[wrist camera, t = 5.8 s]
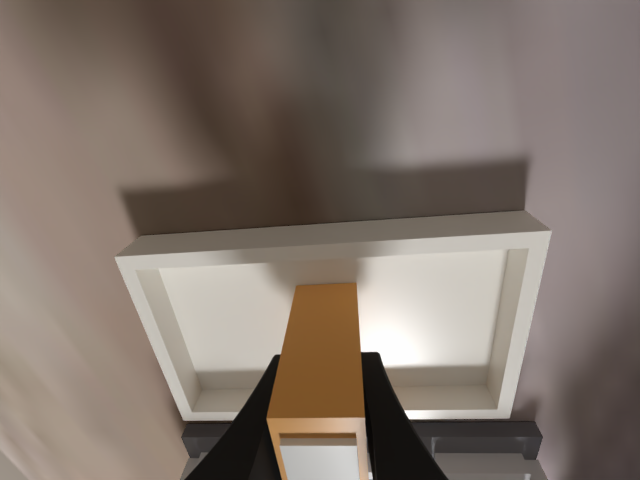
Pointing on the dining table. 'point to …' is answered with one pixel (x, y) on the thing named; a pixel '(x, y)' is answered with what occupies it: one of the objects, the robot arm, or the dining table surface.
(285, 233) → the tray
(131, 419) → the dining table surface
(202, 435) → the fuse block
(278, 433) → the block
